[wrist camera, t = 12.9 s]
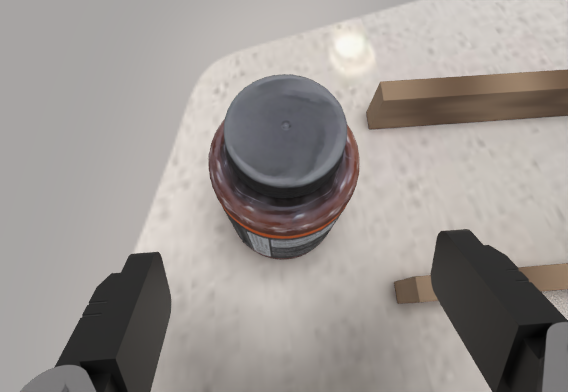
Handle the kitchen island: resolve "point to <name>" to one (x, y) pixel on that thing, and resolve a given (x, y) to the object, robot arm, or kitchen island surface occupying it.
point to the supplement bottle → (284, 164)
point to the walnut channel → (471, 108)
